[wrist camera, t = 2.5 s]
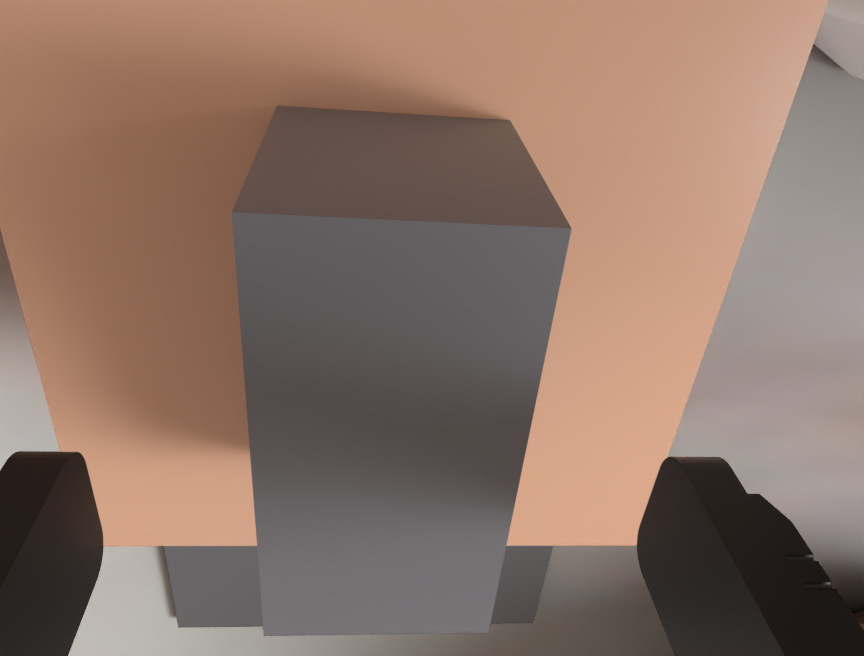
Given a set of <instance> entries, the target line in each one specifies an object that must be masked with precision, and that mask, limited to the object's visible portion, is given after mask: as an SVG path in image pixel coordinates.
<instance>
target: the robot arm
mask: <svg viewBox="0 0 864 656" xmlns="http://www.w3.org/2000/svg"><path fill="white" fill-rule="evenodd" d="M637 553H638V560H639V565H640V569H641V572H642V574H643V577H644V580H645V582H646V585H647V587H648V590H649V592H650V595H651V597H652V600H653V602H654V605H655V607H656V610H657V612H658V615H659V617H660V620H661V622H662V625H663V627H664V630H665V632H666V635H667V637H668V640H669V642H670V645H671V647H672V650H673V652H674V655H675V656H864V630H863V629H862V627H861V626H860V624H859V623H858V621H857V620H856V618H855V617H854V615H853V614H852V612H851V611H850V609H849V608H848V606H847V605H846V603H845V601H844V600H843V598H842V597H841V595H840V594H839V592H838V591H837V589H832V587H831V580H830V579H829V577H828V576H827V574H826V573H825V571H824V570H823V568H822V567H821V565H820V564H819V562H818V561H814V560H813V553H812V552H811V550H810V549H809V547H808V546H807V544H806V543H805V541H804V540H803V538H802V537H801V535H800V534H799V532H798V531H797V529H796V528H795V526H794V525H793V523H792V522H791V521H790V520H789V519H788V518H787V517H785V516H784V515H783V514H782V513H781V512H780V511H778V510H777V509H776V508H775V507H774V506H773V505H772V504H770V503H769V502H768V501H767V500H766V499H765V498H763V497H762V496H761V495H760V494H747V493H746V491H745V489H744V488H743V486H742V485H741V483H740V481H739V480H738V478H737V476H736V475H735V473H734V472H733V470H732V468H731V467H730V466H729V464H728V463H727V462H726V461H725V460H724V459H722V458H719V457H668V458H666V459H665V460H664V461H663V462H662V464H661V466H660V469H659V472H658V474H657V477H656V480H655V483H654V486H653V489H652V492H651V495H650V497H649V500H648V503H647V506H646V509H645V512H644V515H643V518H642V520H641V523H640V526H639V530H638V536H637ZM102 556H103V531H102V526H101V522H100V518H99V514H98V510H97V506H96V502H95V498H94V493H93V489H92V485H91V481H90V477H89V473H88V469H87V465H86V462H85V459H84V457H83V455H82V454H81V453H79V452H22V451H19V452H15V453H14V454H12V455H11V456H10V457H9V458H8V460H7V461H6V463H5V464H4V466H3V467H2V469H1V471H0V656H68V654H69V651H70V649H71V646H72V643H73V641H74V638H75V636H76V633H77V630H78V628H79V625H80V623H81V620H82V617H83V615H84V612H85V609H86V607H87V604H88V602H89V599H90V596H91V594H92V591H93V589H94V586H95V583H96V581H97V578H98V575H99V571H100V567H101V562H102Z"/></svg>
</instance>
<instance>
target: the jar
mask: <svg viewBox="0 0 864 656" xmlns="http://www.w3.org/2000/svg"><path fill="white" fill-rule="evenodd" d="M814 44H815V45H816V46H817V47H818V48H819V49H820V50H822V51H823V52H824V53H825V54H826V55H827V56H829V57H830V58H831V59H832V60H833V61H834V62H835V63H837V64H838V65H839V66H840V67H841V68H842V69H843V70H845V71H846V72H847V73H848V74H850V75H851V76H854V77H856V78H859V79H861V80H864V0H829V1H828V4H827V7H826V9H825V12H824V15H823V18H822V21H821V24H820V26H819V29H818V32H817V35H816V38H815V41H814Z"/></svg>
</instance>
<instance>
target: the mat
mask: <svg viewBox="0 0 864 656" xmlns="http://www.w3.org/2000/svg"><path fill="white" fill-rule="evenodd" d="M552 547H553V546H506V550H505V555H504V559H503V564H502V569H501V574H500V579H499V584H498V589H497V593H496V598H495V603H494V608H493V613H492V618H491V622H490V623H533V620H534V616H535V612H536V609H537V605H538V601H539V597H540V593H541V589H542V585H543V582H544V578H545V574H546V570H547V566H548V562H549V558H550V555H551V551H552ZM164 550H165V556H166V561H167V567H168V572H169V578H170V583H171V589H172V594H173V600H174V605H175V611H176V616H177V622H178V627H253V626H263V617H262V604H261V591H260V578H259V565H258V552H257V546H164Z"/></svg>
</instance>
